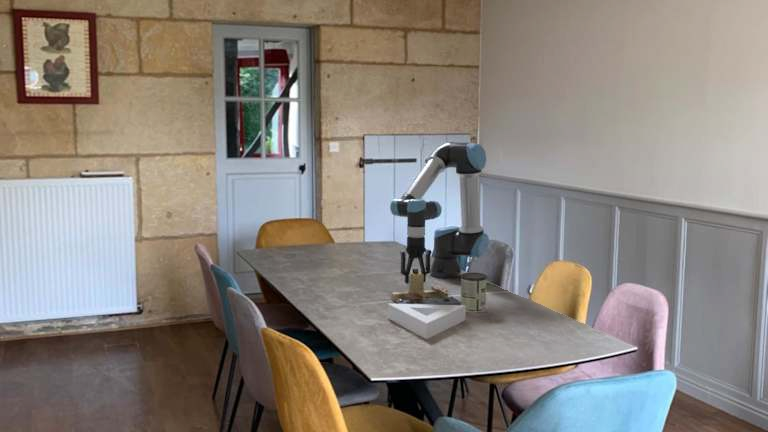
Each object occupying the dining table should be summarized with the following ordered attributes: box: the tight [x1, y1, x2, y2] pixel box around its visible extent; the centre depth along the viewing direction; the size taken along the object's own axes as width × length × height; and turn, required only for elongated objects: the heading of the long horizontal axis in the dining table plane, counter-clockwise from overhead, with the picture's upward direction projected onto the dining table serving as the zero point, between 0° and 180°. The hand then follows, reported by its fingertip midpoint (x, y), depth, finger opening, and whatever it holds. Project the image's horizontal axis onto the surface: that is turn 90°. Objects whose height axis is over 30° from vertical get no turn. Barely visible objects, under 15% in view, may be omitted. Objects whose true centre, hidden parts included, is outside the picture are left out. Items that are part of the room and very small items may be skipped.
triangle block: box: [386, 303, 467, 340], centre depth 295 cm, size 30×26×6 cm
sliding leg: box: [409, 267, 426, 301], centre depth 327 cm, size 5×15×11 cm, turn 17°
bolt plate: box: [395, 295, 461, 305], centre depth 322 cm, size 25×10×2 cm, turn 107°
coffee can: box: [460, 272, 488, 314], centre depth 315 cm, size 10×10×14 cm
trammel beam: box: [390, 285, 449, 302], centre depth 328 cm, size 24×14×4 cm, turn 107°
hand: (415, 290), depth 331 cm, fingers closed on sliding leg, 5 cm apart
